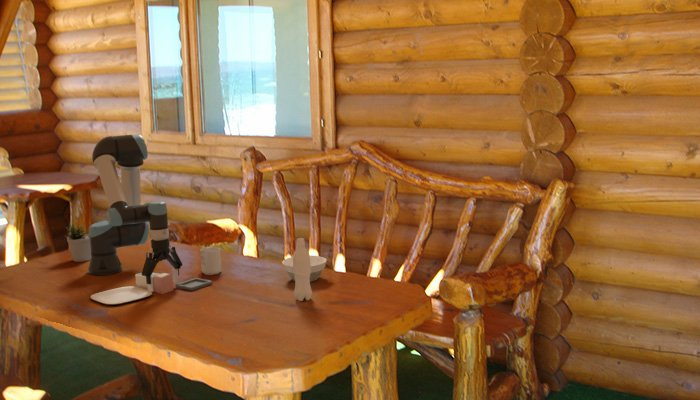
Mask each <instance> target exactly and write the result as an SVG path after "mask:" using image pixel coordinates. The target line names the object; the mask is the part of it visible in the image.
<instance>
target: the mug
mask: <svg viewBox="0 0 700 400" xmlns="http://www.w3.org/2000/svg"><path fill="white" fill-rule="evenodd" d="M199 251H200V263H201V272H202V273H203V274H204V275H207V276H213V275H214V274H215V275H219V274H220V273H221V271H222V257H221V248H220V247H218V246H207V247H203V248H200V250H199Z"/></svg>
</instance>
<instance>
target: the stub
mask: <svg viewBox="0 0 700 400" xmlns="http://www.w3.org/2000/svg"><path fill="white" fill-rule="evenodd" d="M158 274H159V275H156V276H153V278H154V290H155V291H154V293H156V292H157V294H162V295H163V294H166V293H167V294H168V293H169V292H172V291H174V283H173V273H167V272H166V273H165V272H162V273H158Z"/></svg>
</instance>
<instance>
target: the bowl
mask: <svg viewBox="0 0 700 400" xmlns="http://www.w3.org/2000/svg"><path fill="white" fill-rule="evenodd" d="M327 261H328V260H327V258H325V257H322V256H319V255H310V269H311V273H310V283H311V282H315V281H316V280H318V279H319V278H320V276H321V274H322V273H323V271H324V269H325V268H326V265H327V264H326V263H327ZM281 264H282V266H283V269H284V270H285V272H286V274H287V275H288V276H289V278H291V279H292V281H293V282H295V276H294V273H293V256H292V257H291V256H290V257H287V258H286V259H283V260H282V262H281Z"/></svg>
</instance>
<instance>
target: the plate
mask: <svg viewBox="0 0 700 400" xmlns="http://www.w3.org/2000/svg"><path fill="white" fill-rule="evenodd" d="M152 295H153V292H151V291H148V290H145V289H142V288H139V287H136V286H132V285H129V286H122V287H121V286H120V287H117V288H112V289H108V290H104V291H100V292H96V293H93V294H92V295H90V299H91V300H93V301H95V302H97V303H99V304H100V303H101V304H103V305H106V306H107V305H108V306H109V305H110V306H115V305H122V304H127V303H131V302H134V301H135V302H136V301H139V300H143V299H145V298H149V297H151V296H152Z"/></svg>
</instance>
